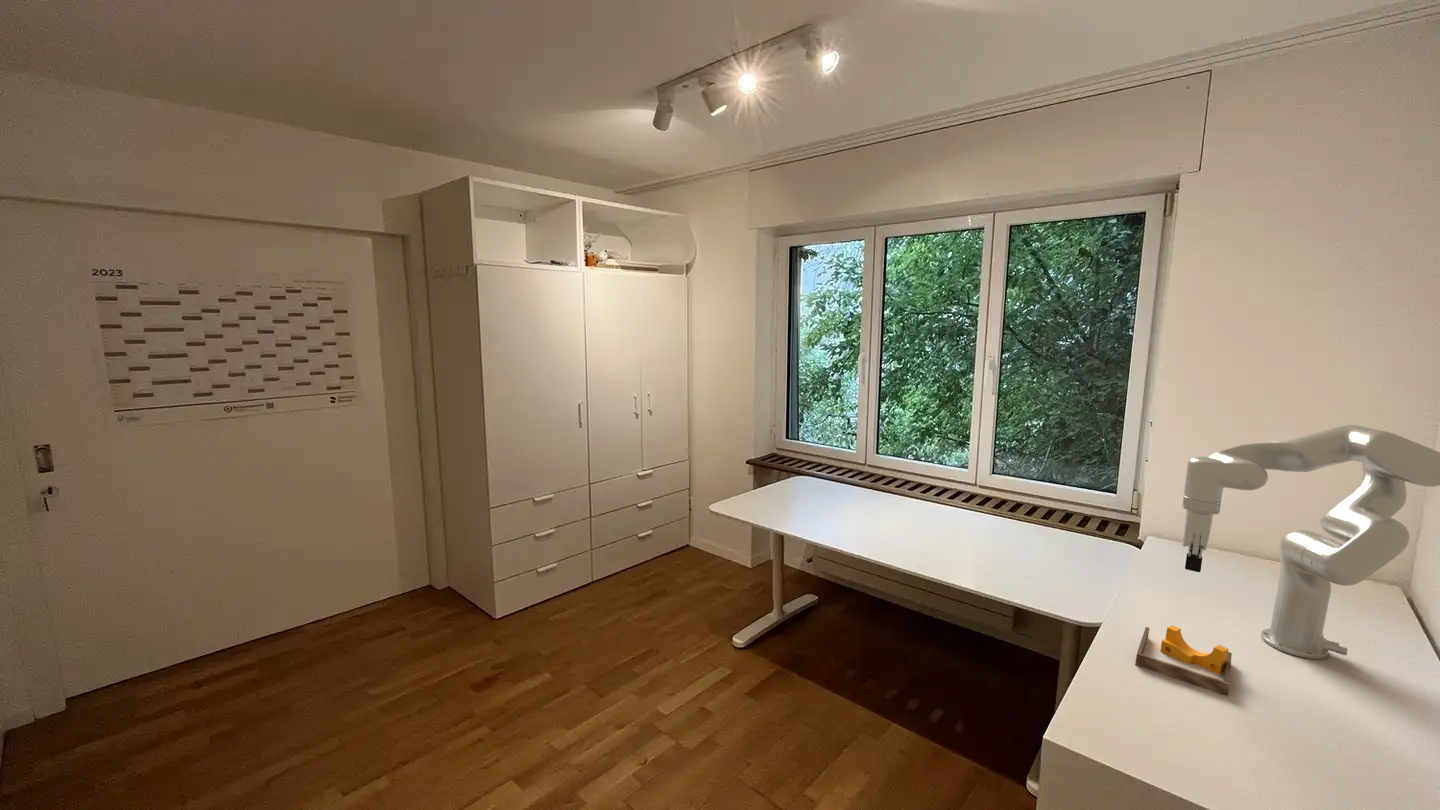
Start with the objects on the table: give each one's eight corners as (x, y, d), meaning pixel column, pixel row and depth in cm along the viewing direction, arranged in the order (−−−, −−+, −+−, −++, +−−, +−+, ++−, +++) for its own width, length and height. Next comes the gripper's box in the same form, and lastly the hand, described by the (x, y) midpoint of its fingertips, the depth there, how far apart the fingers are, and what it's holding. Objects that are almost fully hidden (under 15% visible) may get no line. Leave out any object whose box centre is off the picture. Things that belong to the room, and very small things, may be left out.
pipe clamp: (1160, 651, 149) (1163, 629, 148) (1169, 647, 151) (1172, 625, 150) (1216, 677, 139) (1220, 653, 138) (1224, 672, 141) (1228, 648, 140)
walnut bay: (1229, 663, 144) (1231, 652, 143) (1227, 696, 132) (1229, 684, 131) (1144, 636, 156) (1145, 626, 155) (1135, 664, 143) (1136, 653, 143)
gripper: (1184, 494, 156) (1176, 556, 159) (1181, 509, 145) (1173, 575, 148) (1220, 500, 151) (1211, 564, 154) (1220, 515, 140) (1210, 584, 143)
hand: (1192, 569), depth 151 cm, fingers closed
